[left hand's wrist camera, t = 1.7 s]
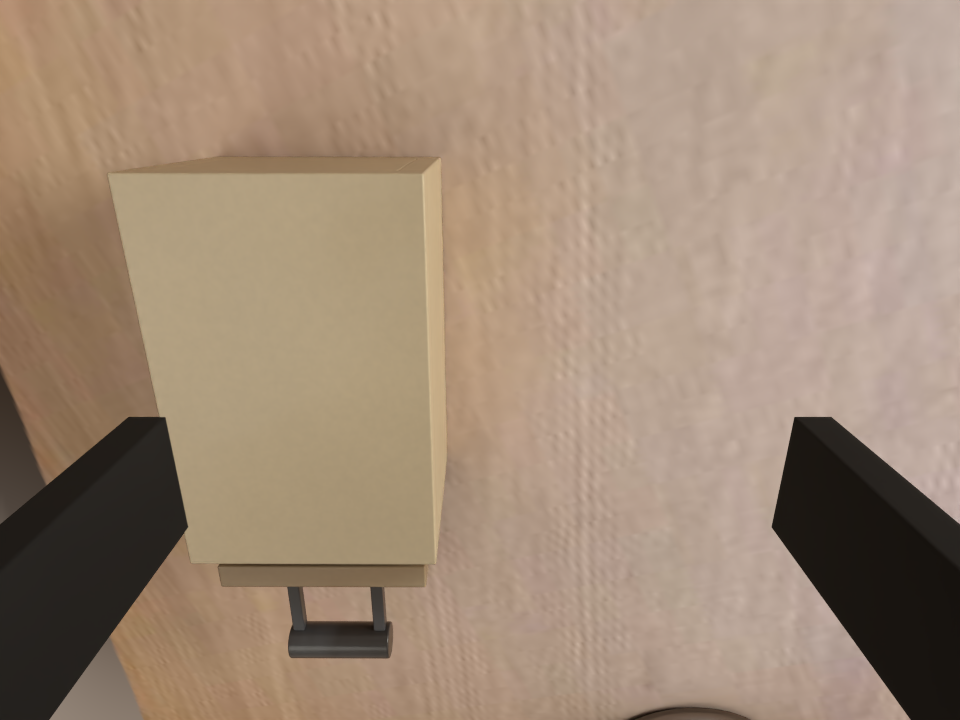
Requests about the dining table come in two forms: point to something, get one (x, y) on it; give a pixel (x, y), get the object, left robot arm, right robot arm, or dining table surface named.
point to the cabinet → (295, 351)
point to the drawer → (331, 635)
